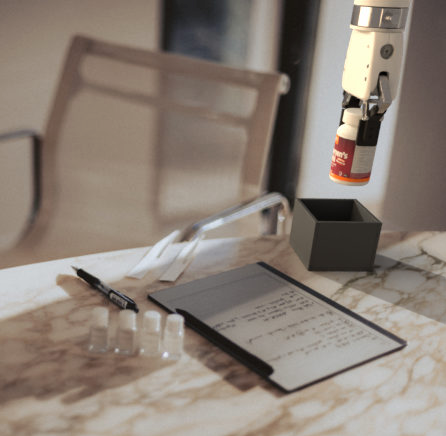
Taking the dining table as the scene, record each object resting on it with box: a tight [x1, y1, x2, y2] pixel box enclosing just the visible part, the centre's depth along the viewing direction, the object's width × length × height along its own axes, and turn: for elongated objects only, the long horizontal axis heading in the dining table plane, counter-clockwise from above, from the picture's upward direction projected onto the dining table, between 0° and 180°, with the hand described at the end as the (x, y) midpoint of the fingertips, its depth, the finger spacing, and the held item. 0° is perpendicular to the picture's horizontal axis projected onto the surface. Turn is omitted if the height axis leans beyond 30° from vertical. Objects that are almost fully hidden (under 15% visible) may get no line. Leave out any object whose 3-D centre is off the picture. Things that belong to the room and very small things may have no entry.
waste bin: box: [288, 197, 383, 272], centre depth 105 cm, size 11×11×9 cm
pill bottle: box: [328, 107, 378, 187], centre depth 98 cm, size 6×6×11 cm
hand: (356, 138), depth 97 cm, fingers closed on pill bottle, 6 cm apart
